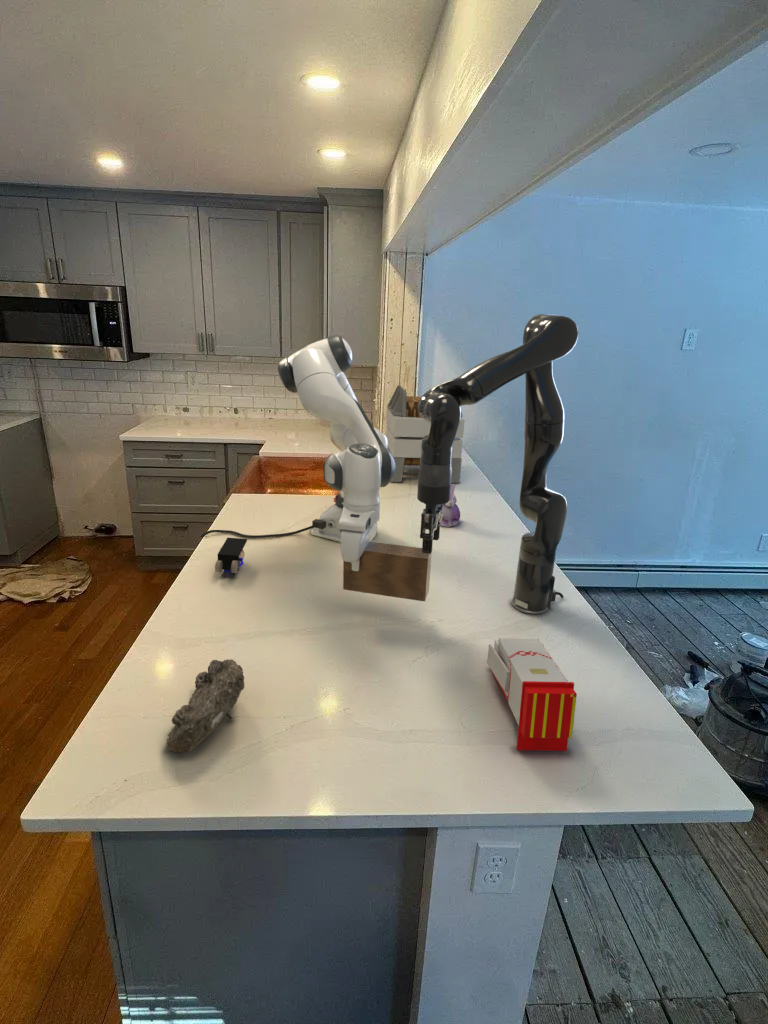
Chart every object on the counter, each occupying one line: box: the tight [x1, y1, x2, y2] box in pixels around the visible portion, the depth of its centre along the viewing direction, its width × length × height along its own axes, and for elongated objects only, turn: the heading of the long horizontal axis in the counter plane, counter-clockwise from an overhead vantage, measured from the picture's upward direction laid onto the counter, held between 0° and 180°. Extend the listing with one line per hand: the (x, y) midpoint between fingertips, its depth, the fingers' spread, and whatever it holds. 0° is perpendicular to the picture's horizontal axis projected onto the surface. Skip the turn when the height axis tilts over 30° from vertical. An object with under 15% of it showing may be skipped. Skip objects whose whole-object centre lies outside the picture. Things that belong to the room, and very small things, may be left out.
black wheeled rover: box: [214, 537, 248, 578], centre depth 166 cm, size 7×8×15 cm
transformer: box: [385, 384, 465, 484], centre depth 268 cm, size 34×33×41 cm
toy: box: [486, 637, 578, 752], centre depth 114 cm, size 12×13×30 cm
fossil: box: [166, 658, 245, 754], centre depth 106 cm, size 22×10×15 cm
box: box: [342, 541, 433, 602], centre depth 141 cm, size 21×6×12 cm, turn 77°
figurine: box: [440, 483, 461, 528], centre depth 209 cm, size 9×10×15 cm
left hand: (359, 563), depth 142 cm, fingers closed on box, 6 cm apart
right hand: (430, 545), depth 134 cm, fingers open, 8 cm apart
